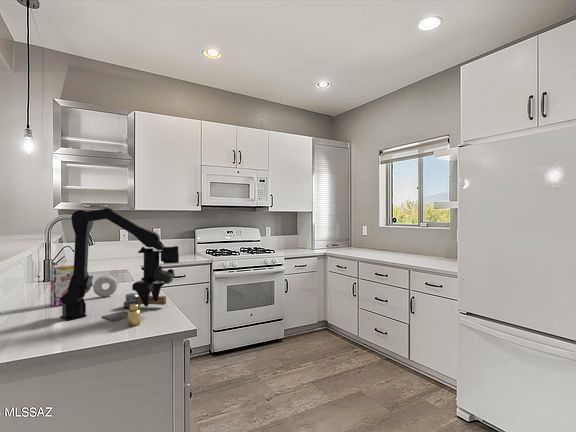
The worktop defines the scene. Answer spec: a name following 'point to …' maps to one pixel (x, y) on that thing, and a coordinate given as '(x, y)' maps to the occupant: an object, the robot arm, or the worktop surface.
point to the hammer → (136, 299)
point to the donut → (105, 292)
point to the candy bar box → (59, 282)
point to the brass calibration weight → (133, 316)
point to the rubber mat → (116, 316)
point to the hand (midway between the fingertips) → (151, 303)
